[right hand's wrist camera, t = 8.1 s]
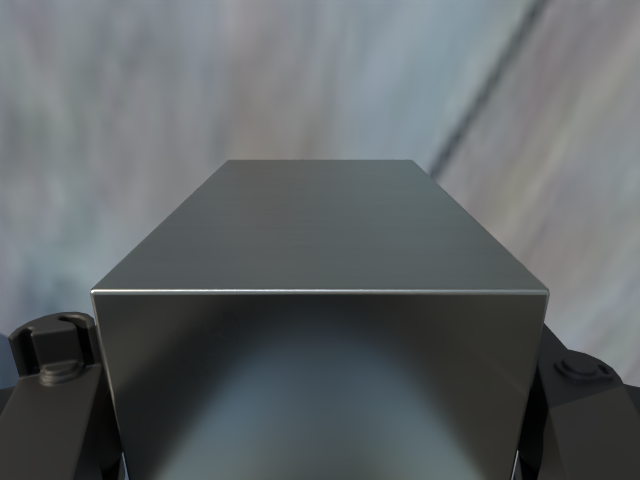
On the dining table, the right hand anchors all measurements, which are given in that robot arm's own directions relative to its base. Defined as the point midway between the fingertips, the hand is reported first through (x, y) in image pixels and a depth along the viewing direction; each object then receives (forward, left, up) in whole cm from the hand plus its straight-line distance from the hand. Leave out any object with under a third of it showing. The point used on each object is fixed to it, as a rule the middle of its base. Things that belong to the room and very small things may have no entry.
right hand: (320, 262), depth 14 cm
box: (0, +8, -1) cm, 8 cm away
